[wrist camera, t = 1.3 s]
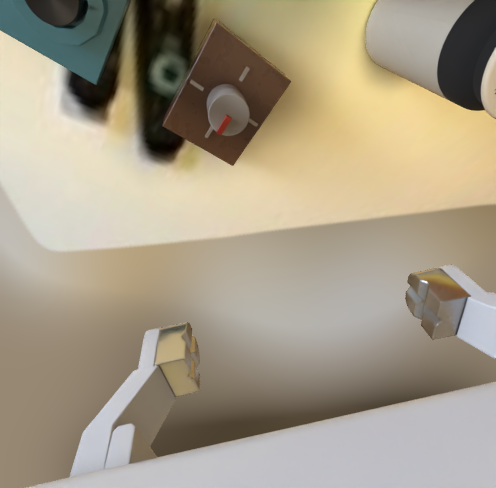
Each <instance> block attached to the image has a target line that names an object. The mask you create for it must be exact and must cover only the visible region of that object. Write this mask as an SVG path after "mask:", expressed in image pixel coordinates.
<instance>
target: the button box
mask: <svg viewBox="0 0 496 488" xmlns="http://www.w3.org/2000/svg"><path fill="white" fill-rule="evenodd" d="M129 3H130V0H84V10H83V13H82V15H81V17H80V18H79V19H78V20H77V21H76V22H74V23H71V24H69V25H67V26H53V25H50V24H48V23H46V22H44V21H42V20H41V19H39V18H38V17H37V16H36V15H35V14H34V13H33V12H32V11H31V10H30V8H29V7H28V5H27V4H26V2H25V0H0V30H1V31H3V32H4V33H6V34H8V35H10V36H11V37H13V38H15V39H17V40H18V41H20V42H22V43H24V44H25V45H27V46H29V47H31V48H32V49H34V50H36V51H38V52H39V53H41V54H43V55H45V56H46V57H48V58H50V59H52V60H53V61H55V62H57V63H59V64H60V65H62V66H64V67H66V68H67V69H69V70H71V71H73V72H74V73H76V74H78V75H80V76H81V77H83V78H85V79H86V80H88V81H90V82H92V83H93V84H95V85H96V84H97V83H98V82H99V80H100V79H101V77H102V74H103V71H104V69H105V66H106V63H107V61H108V58H109V55H110V53H111V50H112V48H113V45H114V42H115V40H116V37H117V34H118V32H119V29H120V26H121V24H122V21H123V18H124V16H125V13H126V11H127V8H128V5H129Z"/></svg>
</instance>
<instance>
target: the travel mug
mask: <svg viewBox="0 0 496 488" xmlns="http://www.w3.org/2000/svg"><path fill="white" fill-rule="evenodd" d="M366 47H367V51H368V53H369V55H370V57H371V59H372V60H373V61H374V62H375V63H376V64H377V65H379V66H381V67H383V68H385V69H387V70H389V71H391V72H393V73H395V74H397V75H399V76H401V77H403V78H405V79H407V80H409V81H411V82H413V83H415V84H417V85H419V86H421V87H423V88H425V89H427V90H429V91H431V92H433V93H435V94H437V95H439V96H441V97H443V98H445V99H447V100H449V101H451V102H453V103H455V104H457V105H459V106H461V107H464V108H466V109H469V110H475V111H480V110H486V111H487V113H488V114H489V115H490V116H492V117H493V118H495V119H496V0H378V1H377V3H376V4H375V6H374V8H373V10H372V12H371V14H370V17H369V20H368V23H367V28H366Z"/></svg>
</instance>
